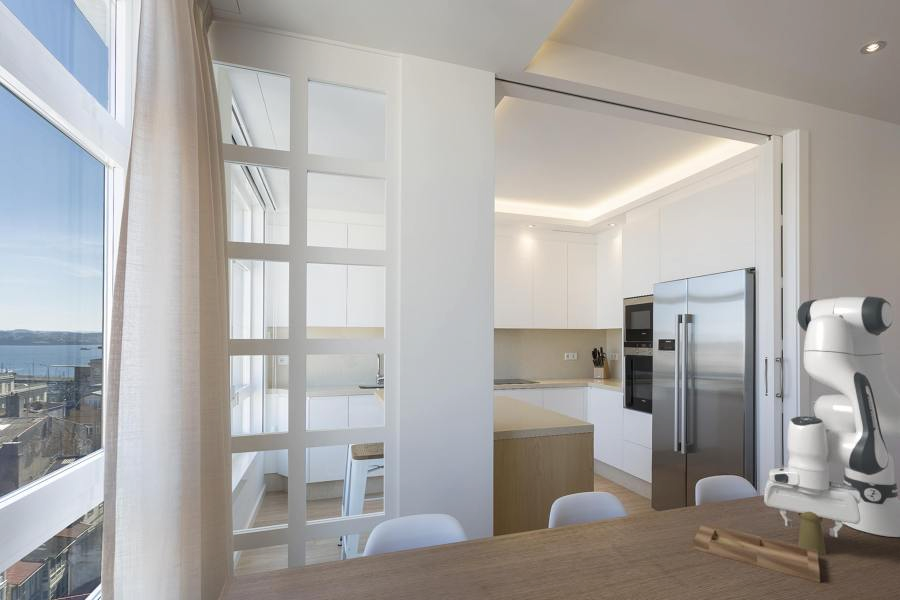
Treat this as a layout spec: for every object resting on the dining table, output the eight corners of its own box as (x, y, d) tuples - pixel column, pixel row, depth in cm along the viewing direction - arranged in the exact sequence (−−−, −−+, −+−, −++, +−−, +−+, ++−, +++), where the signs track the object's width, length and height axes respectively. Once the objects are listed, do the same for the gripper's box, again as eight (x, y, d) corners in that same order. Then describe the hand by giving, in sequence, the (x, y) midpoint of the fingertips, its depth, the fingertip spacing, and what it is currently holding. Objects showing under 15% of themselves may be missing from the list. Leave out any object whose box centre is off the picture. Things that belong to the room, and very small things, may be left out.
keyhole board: (702, 531, 131) (702, 522, 131) (817, 559, 115) (817, 549, 115) (694, 548, 120) (693, 539, 120) (820, 582, 104) (819, 571, 104)
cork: (831, 556, 117) (829, 512, 118) (805, 553, 118) (803, 510, 119) (817, 546, 123) (816, 504, 124) (792, 543, 124) (791, 502, 125)
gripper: (858, 483, 118) (861, 538, 117) (763, 468, 131) (765, 517, 129) (861, 489, 113) (864, 547, 112) (762, 473, 126) (764, 524, 124)
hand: (810, 531), depth 121 cm, fingers open, 8 cm apart
